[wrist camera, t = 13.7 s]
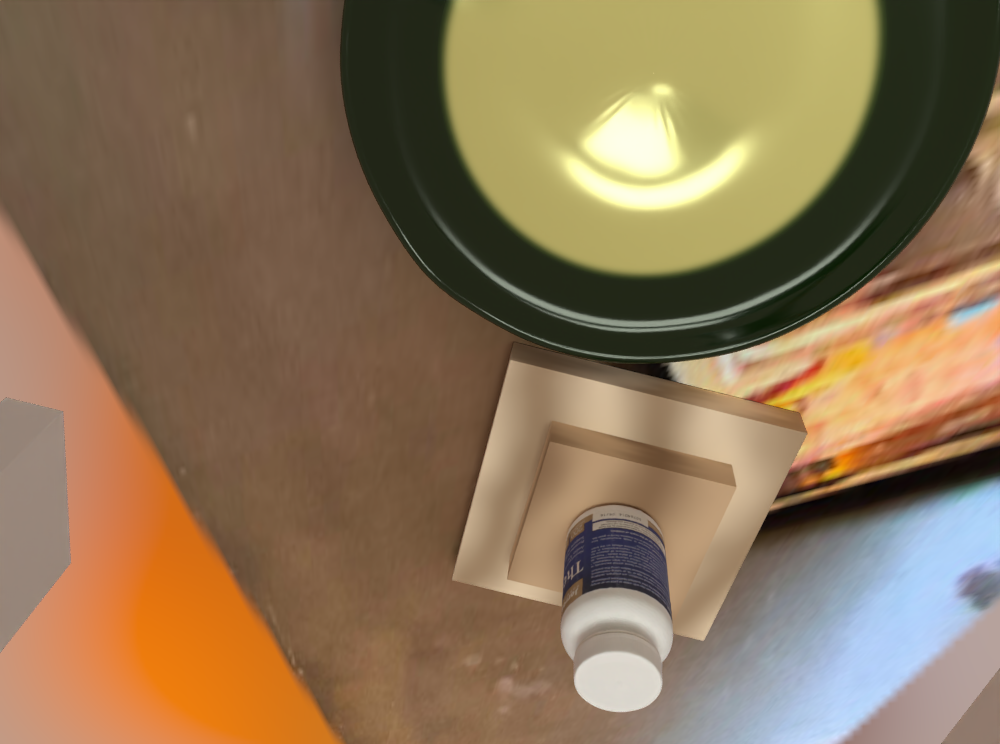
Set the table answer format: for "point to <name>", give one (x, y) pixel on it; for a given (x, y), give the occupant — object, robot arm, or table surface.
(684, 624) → the base
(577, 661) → the pill bottle
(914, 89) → the plate
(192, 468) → the table surface
